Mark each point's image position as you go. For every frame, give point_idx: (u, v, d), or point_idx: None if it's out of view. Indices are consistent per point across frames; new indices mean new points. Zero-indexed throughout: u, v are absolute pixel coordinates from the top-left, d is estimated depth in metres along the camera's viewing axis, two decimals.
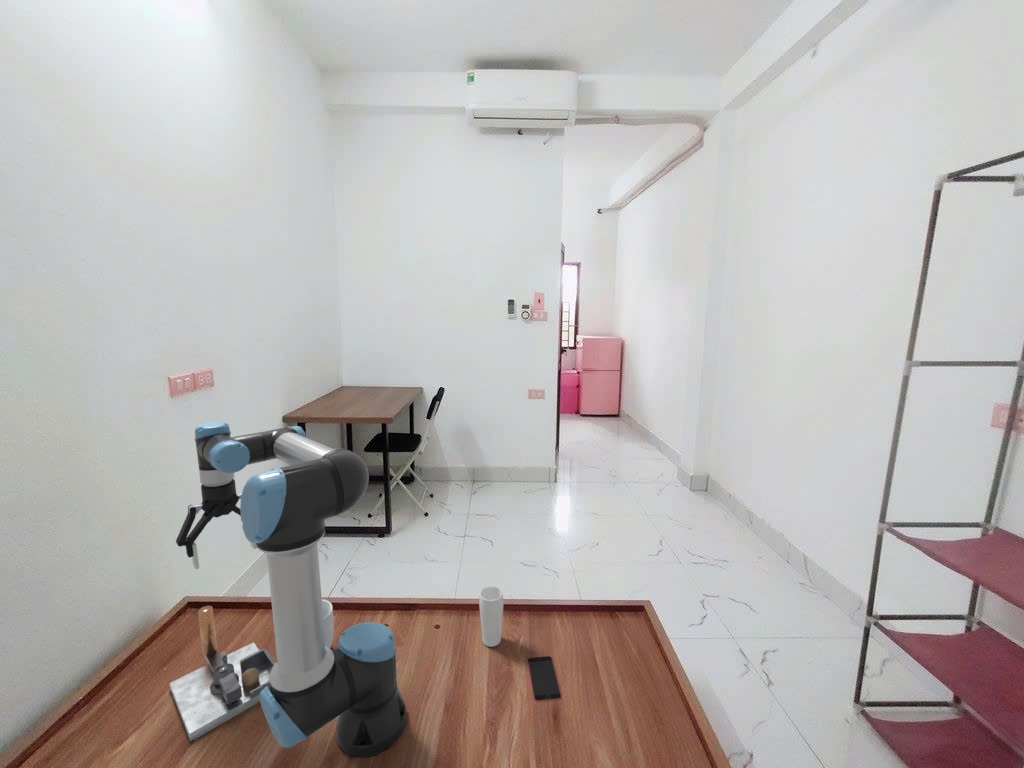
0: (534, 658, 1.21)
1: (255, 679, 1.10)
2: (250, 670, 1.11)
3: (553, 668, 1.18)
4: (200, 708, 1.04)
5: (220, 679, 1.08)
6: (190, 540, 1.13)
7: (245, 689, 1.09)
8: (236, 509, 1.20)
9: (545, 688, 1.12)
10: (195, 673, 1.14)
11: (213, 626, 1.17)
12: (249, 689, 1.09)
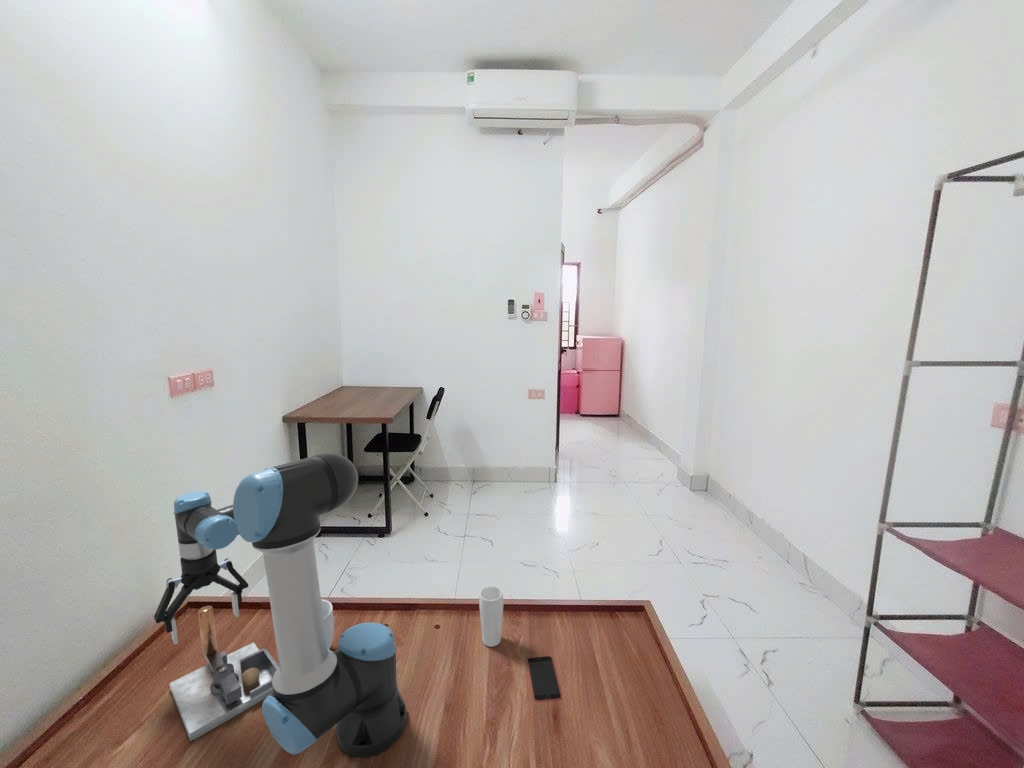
0: (534, 658, 1.21)
1: (255, 678, 1.10)
2: (250, 670, 1.11)
3: (553, 668, 1.18)
4: (200, 708, 1.04)
5: (220, 679, 1.08)
6: (169, 615, 1.10)
7: (245, 689, 1.09)
8: (217, 579, 1.17)
9: (545, 688, 1.12)
10: (195, 673, 1.14)
11: (213, 626, 1.17)
12: (249, 689, 1.09)
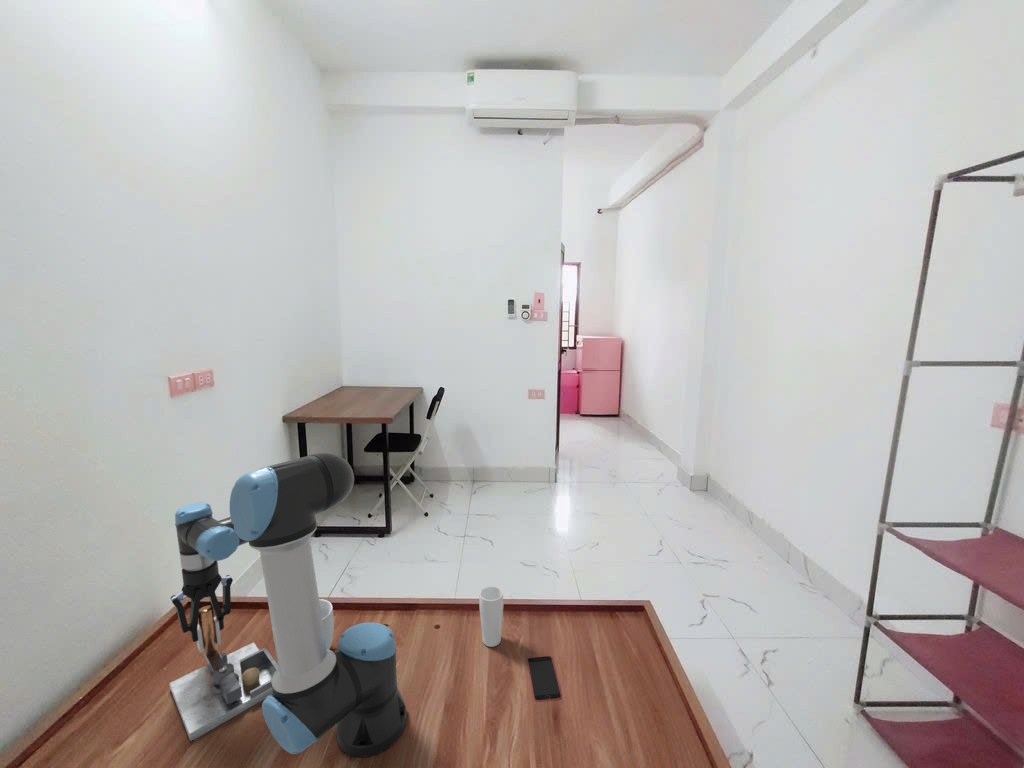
0: (534, 658, 1.21)
1: (256, 678, 1.10)
2: (250, 670, 1.11)
3: (553, 668, 1.18)
4: (200, 708, 1.04)
5: (220, 679, 1.08)
6: (193, 626, 1.14)
7: (245, 689, 1.09)
8: (213, 595, 1.16)
9: (545, 688, 1.12)
10: (195, 673, 1.14)
11: (213, 626, 1.17)
12: (250, 689, 1.09)
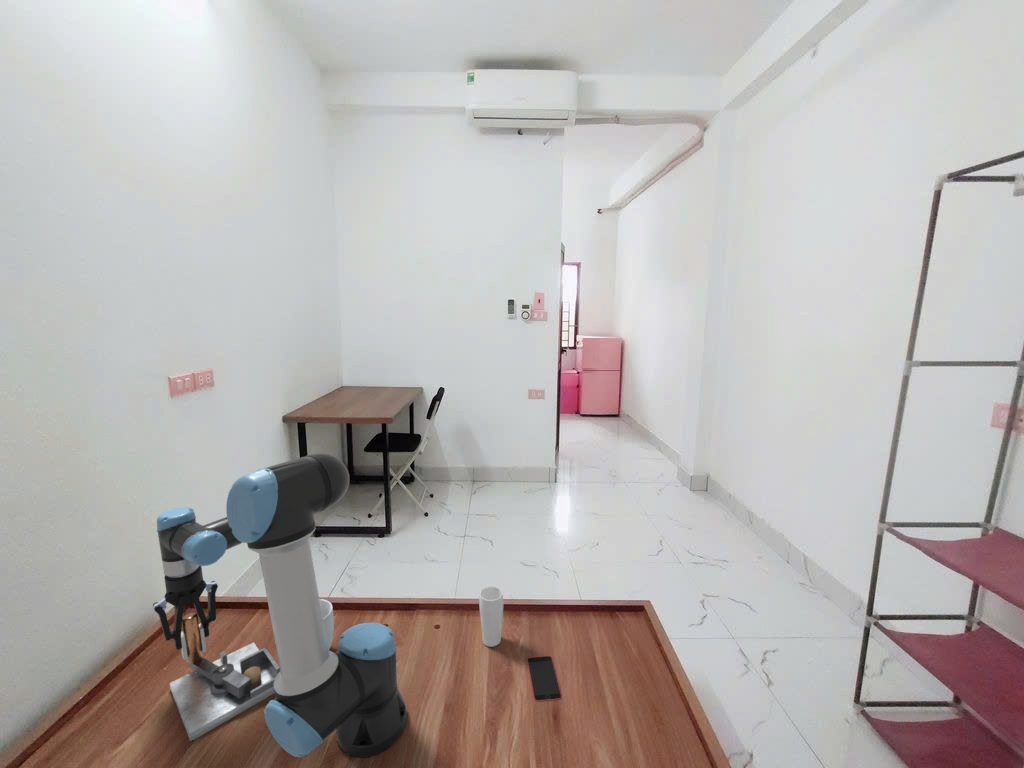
0: (534, 658, 1.21)
1: (258, 676, 1.10)
2: (251, 669, 1.11)
3: (553, 668, 1.18)
4: (200, 708, 1.04)
5: (224, 678, 1.08)
6: (176, 634, 1.11)
7: None
8: (197, 601, 1.13)
9: (545, 688, 1.12)
10: (195, 673, 1.14)
11: (199, 633, 1.15)
12: (252, 687, 1.09)
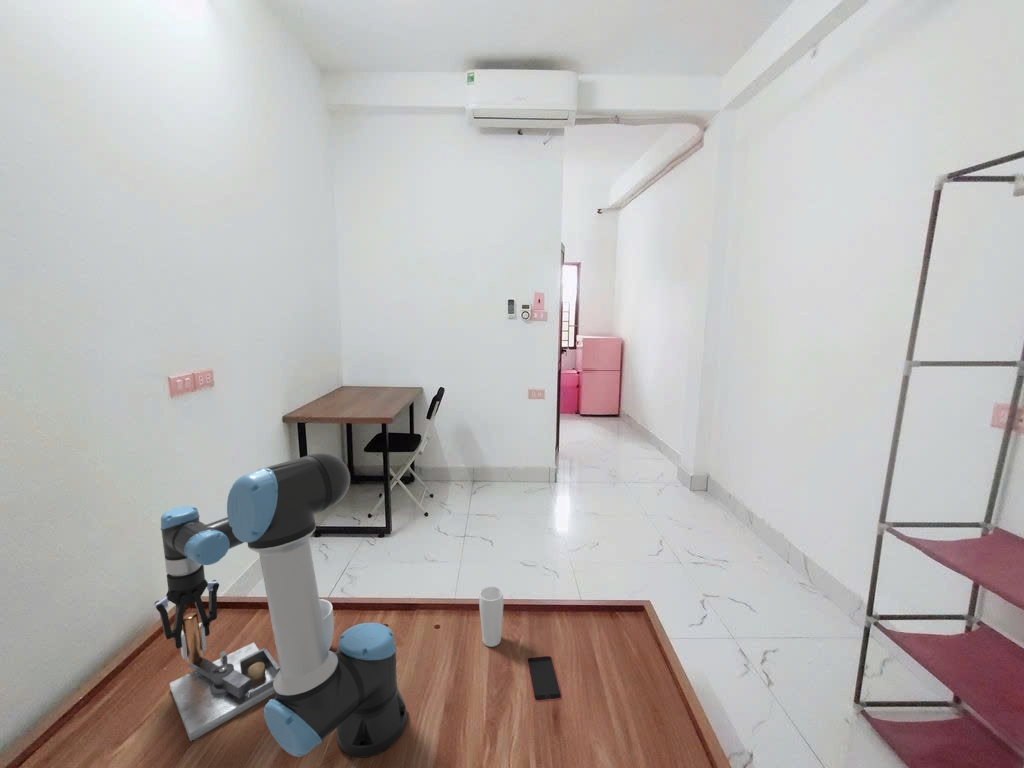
0: (533, 658, 1.21)
1: (262, 672, 1.12)
2: (256, 664, 1.13)
3: (553, 668, 1.18)
4: (200, 708, 1.04)
5: (224, 678, 1.08)
6: (177, 632, 1.11)
7: (252, 683, 1.11)
8: (199, 600, 1.14)
9: (545, 688, 1.12)
10: (195, 673, 1.14)
11: (199, 632, 1.15)
12: (256, 682, 1.11)
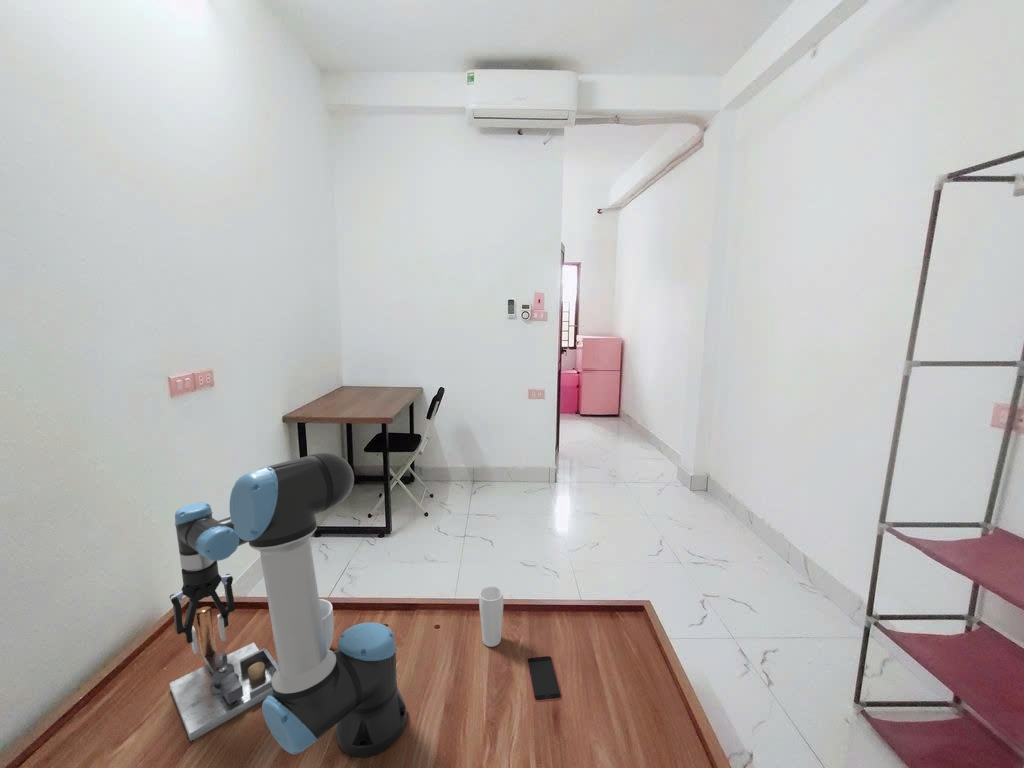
0: (533, 658, 1.21)
1: (262, 672, 1.12)
2: (256, 664, 1.13)
3: (553, 668, 1.18)
4: (200, 708, 1.04)
5: (220, 679, 1.08)
6: (188, 627, 1.13)
7: (252, 683, 1.11)
8: (214, 594, 1.16)
9: (545, 688, 1.12)
10: (195, 673, 1.14)
11: (211, 627, 1.17)
12: (256, 682, 1.11)
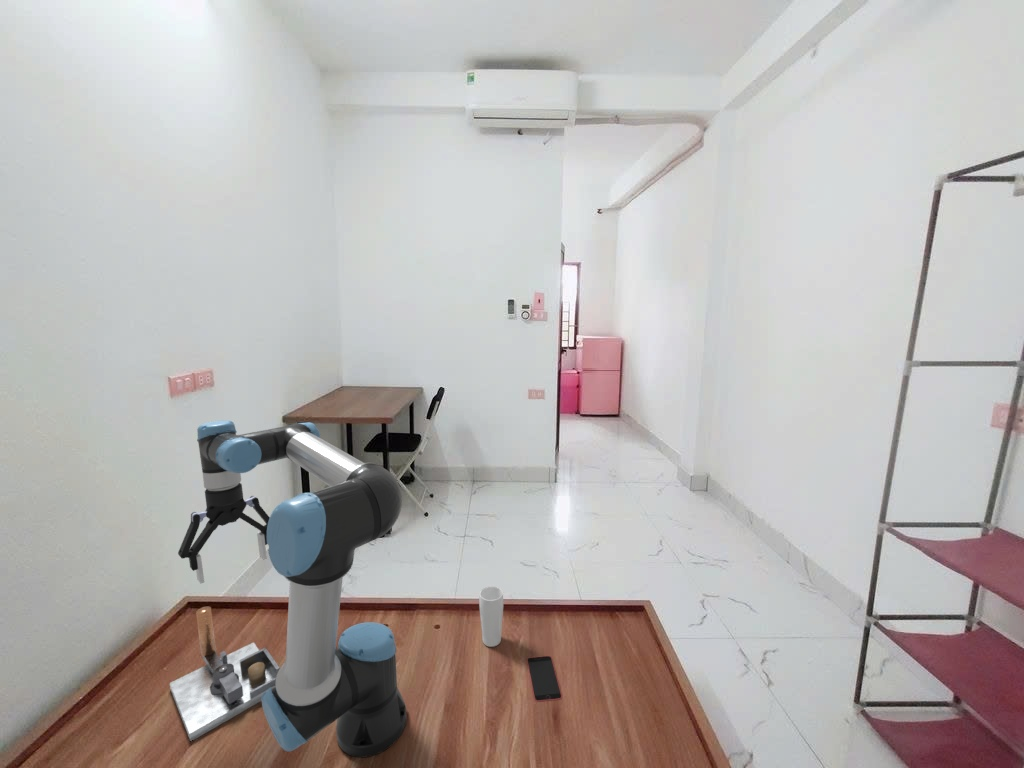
0: (533, 658, 1.21)
1: (262, 672, 1.12)
2: (256, 664, 1.13)
3: (553, 668, 1.18)
4: (200, 708, 1.04)
5: (220, 679, 1.08)
6: (194, 551, 1.03)
7: (252, 683, 1.11)
8: (244, 516, 1.10)
9: (545, 688, 1.12)
10: (195, 673, 1.14)
11: (211, 627, 1.17)
12: (256, 682, 1.11)
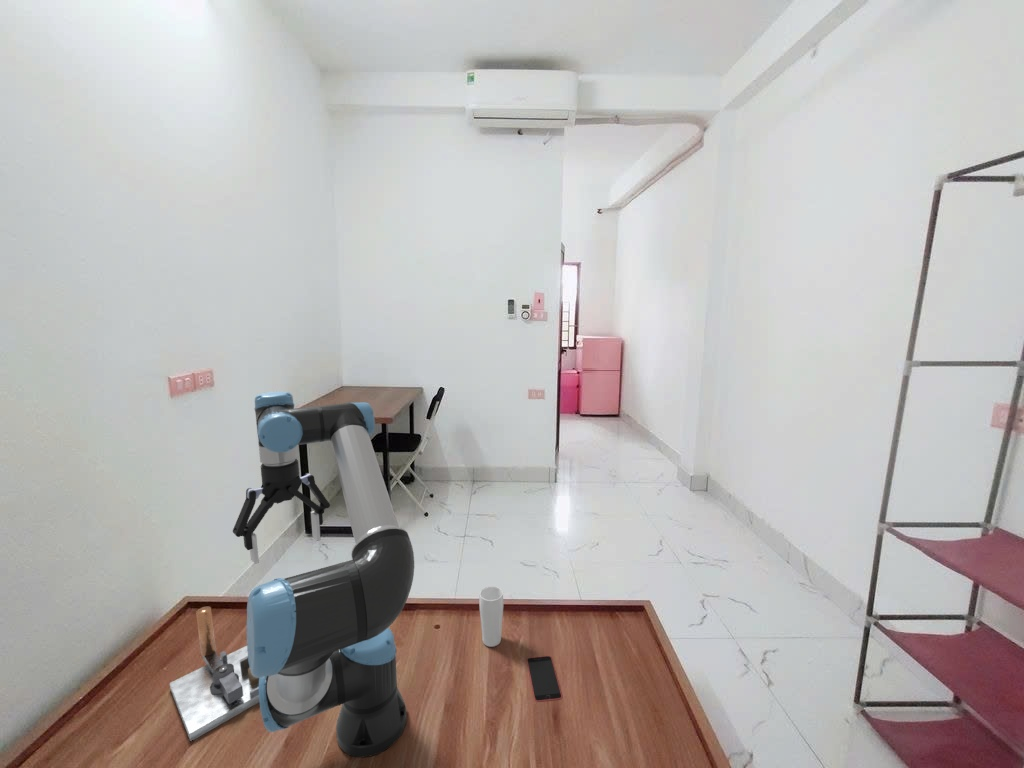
0: (533, 658, 1.21)
1: None
2: None
3: (553, 668, 1.18)
4: (200, 708, 1.04)
5: (220, 679, 1.08)
6: (249, 529, 0.96)
7: (252, 683, 1.11)
8: (299, 494, 1.03)
9: (545, 688, 1.12)
10: (195, 673, 1.14)
11: (211, 627, 1.17)
12: (256, 682, 1.11)
